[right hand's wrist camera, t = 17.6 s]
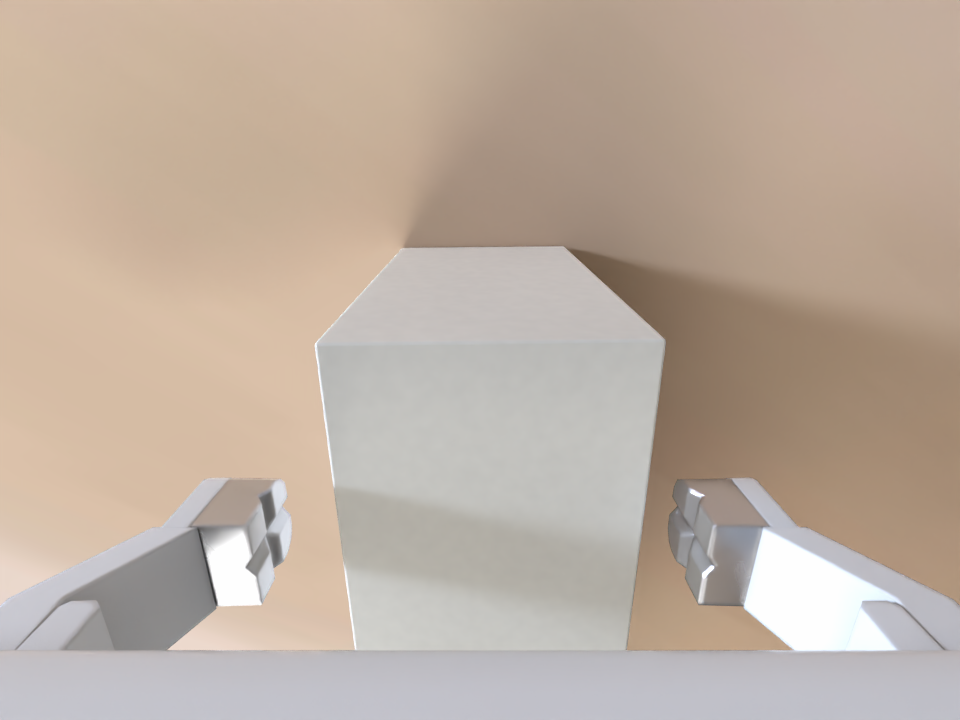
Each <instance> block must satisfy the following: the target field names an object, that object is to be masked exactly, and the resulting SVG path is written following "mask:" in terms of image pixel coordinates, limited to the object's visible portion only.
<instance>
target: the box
mask: <svg viewBox="0 0 960 720" xmlns="http://www.w3.org/2000/svg"><path fill="white" fill-rule="evenodd" d="M665 346H666V340H665V339H664V338H663V337H662V336H661V335H660V334H659V333H658V332H657V331H656V330H655V329H654V328H652V327H651V326H650V325H649V324H648V323H647V322H646V321H645V320H644V319H643V318H642V317H640V316H639V315H638V314H637V313H636V312H635V311H634V310H633V309H632V308H631V307H629V306H628V305H627V304H626V303H625V302H624V301H623V300H622V299H621V298H620V297H619V296H617V295H616V294H615V293H614V292H613V291H612V290H611V289H610V288H609V287H608V286H607V285H605V284H604V283H603V282H602V281H601V280H600V279H599V278H598V277H597V276H596V275H595V274H593V273H592V272H591V271H590V270H589V269H588V268H587V267H586V266H585V265H584V264H583V263H581V262H580V261H579V260H578V259H577V258H576V257H575V256H574V255H573V254H572V253H570V252H569V251H568V250H567V249H566V248H565V247H564V246H541V247H446V248H402V249H401V250H400V252H399V253H398V254H397V255H396V256H395V257H394V258H393V259H392V260H391V261H390V262H389V264H388V265H387V266H386V267H385V268H384V269H383V270H382V271H381V272H380V273H379V274H378V276H377V277H376V278H375V279H374V280H373V281H372V282H371V283H370V284H369V285H368V286H367V288H366V289H365V290H364V291H363V292H362V293H361V294H360V295H359V296H358V297H357V298H356V300H355V301H354V302H353V303H352V304H351V305H350V306H349V307H348V308H347V309H346V310H345V312H344V313H343V314H342V315H341V316H340V317H339V318H338V319H337V320H336V321H335V322H334V324H333V325H332V326H331V327H330V328H329V329H328V330H327V331H326V332H325V333H324V334H323V336H322V337H321V338H320V339H319V340H318V341H317V342H316V344H315V350H316V358H317V366H318V373H319V381H320V388H321V396H322V403H323V411H324V418H325V426H326V433H327V441H328V448H329V456H330V464H331V471H332V479H333V486H334V494H335V501H336V509H337V516H338V524H339V531H340V539H341V546H342V554H343V561H344V569H345V577H346V584H347V592H348V599H349V607H350V614H351V622H352V629H353V637H354V644H355V650H464V651H515V650H627V644H628V636H629V628H630V620H631V612H632V605H633V597H634V589H635V581H636V573H637V565H638V558H639V550H640V542H641V534H642V526H643V519H644V511H645V503H646V495H647V487H648V479H649V472H650V464H651V456H652V448H653V440H654V432H655V425H656V417H657V409H658V401H659V393H660V385H661V378H662V370H663V362H664V354H665Z"/></svg>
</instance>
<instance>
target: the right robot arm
mask: <svg viewBox="0 0 960 720" xmlns="http://www.w3.org/2000/svg"><path fill="white" fill-rule="evenodd" d="M287 497H288V496H287V491H286V486H285V483H284V482H283V481H282V480H281V479H265V478H208V479H204V480H203V481H202V482H201V483H200V485H199V486H198V487H197V488H196V489H195V490H194V491H193V492H192V493H191V495H190V496H189V497H188V498H187V499H186V500H185V501H184V502H183V503H182V505H181V506H180V507H179V508H178V509H177V510H176V511H175V512H174V513H173V515H172V516H171V517H170V518H169V519H168V520H167V521H166V522H165V523H164V525H163V526H162V527H153V528H151V529H149V530H147V531H145V532H142V533H140V534H138V535H136V536H134V537H132V538H130V539H128V540H126V541H124V542H122V543H120V544H118V545H116V546H114V547H112V548H110V549H108V550H106V551H104V552H102V553H100V554H98V555H96V556H94V557H92V558H90V559H88V560H86V561H83V562H81V563H79V564H77V565H75V566H73V567H71V568H69V569H67V570H65V571H63V572H61V573H59V574H57V575H55V576H53V577H51V578H49V579H47V580H45V581H43V582H41V583H39V584H37V585H35V586H33V587H31V588H29V589H27V590H24V591H22V592H20V593H18V594H16V595H14V596H12V597H10V598H8V599H7V600H6V601H5V602H4V603H3V604H2V605H1V606H0V720H960V605H959V604H958V603H956V602H955V601H954V600H953V599H951V598H949V597H947V596H945V595H943V594H941V593H939V592H937V591H935V590H933V589H931V588H929V587H927V586H925V585H923V584H921V583H919V582H917V581H915V580H913V579H911V578H909V577H907V576H905V575H903V574H901V573H899V572H897V571H895V570H893V569H891V568H889V567H886V566H884V565H882V564H880V563H878V562H876V561H874V560H872V559H870V558H868V557H866V556H864V555H862V554H860V553H858V552H856V551H854V550H852V549H850V548H848V547H846V546H844V545H842V544H840V543H838V542H836V541H834V540H832V539H830V538H828V537H826V536H824V535H822V534H820V533H817V532H815V531H813V530H811V529H809V528H807V527H798V526H797V525H796V523H795V522H794V521H793V520H792V519H791V518H790V517H789V516H788V515H787V513H786V512H785V511H784V510H783V509H782V508H781V507H780V506H779V505H778V503H777V502H776V501H775V500H774V499H773V498H772V497H771V496H770V495H769V493H768V492H767V491H766V490H765V489H764V488H763V487H762V486H761V484H760V483H759V482H758V481H757V480H755V479H753V478H751V477H747V478H726V479H680V480H677V481H676V484H675V486H674V490H673V496H672V497H673V498H674V500H675V502H676V504H677V505H678V507H677V508H676V509H675V510H674V511H673V512H672V513H671V514H670V515H669V523H668V535H669V543H670V547H671V550H672V553H673V555H674V557H675V559H676V561H677V562H678V563H680V564H681V565H682V566H684V567H685V568H687V569H686V575H685V579H686V581H687V583H688V585H689V587H690V589H691V591H692V593H693V595H694V597H695V599H696V601H697V603H698V605H716V606H744V609H745V610H746V611H747V612H749V613H750V614H751V615H752V616H753V617H755V618H756V619H757V620H758V621H759V622H761V623H762V624H763V625H764V626H765V627H767V628H768V629H769V630H770V631H771V632H773V633H774V634H775V635H776V636H777V637H779V638H780V639H781V640H782V641H783V642H785V643H786V644H787V645H788V646H789V647H791V648H792V649H793V650H515V651H464V650H167V649H168V648H170V647H171V646H172V645H173V644H174V643H176V642H177V641H178V640H179V639H180V638H182V637H183V636H184V635H185V634H186V633H188V632H189V631H190V630H191V629H192V628H194V627H195V626H196V625H197V624H198V623H200V622H201V621H202V620H203V619H205V618H206V617H207V616H208V615H209V614H211V613H212V612H213V611H214V610H215V609H216V606H243V605H262V603H263V601H264V599H265V597H266V595H267V593H268V591H269V589H270V587H271V585H272V583H273V581H274V579H275V575H274V569H273V568H275V567H276V566H278V565H279V564H281V563H282V562H283V561H284V559H285V557H286V555H287V553H288V551H289V547H290V542H291V538H292V522H291V515H290V514H289V513H288V512H287V511H286V510H285V509H284V508H283V507H282V505H283V504H284V502H285V500H286V498H287Z"/></svg>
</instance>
